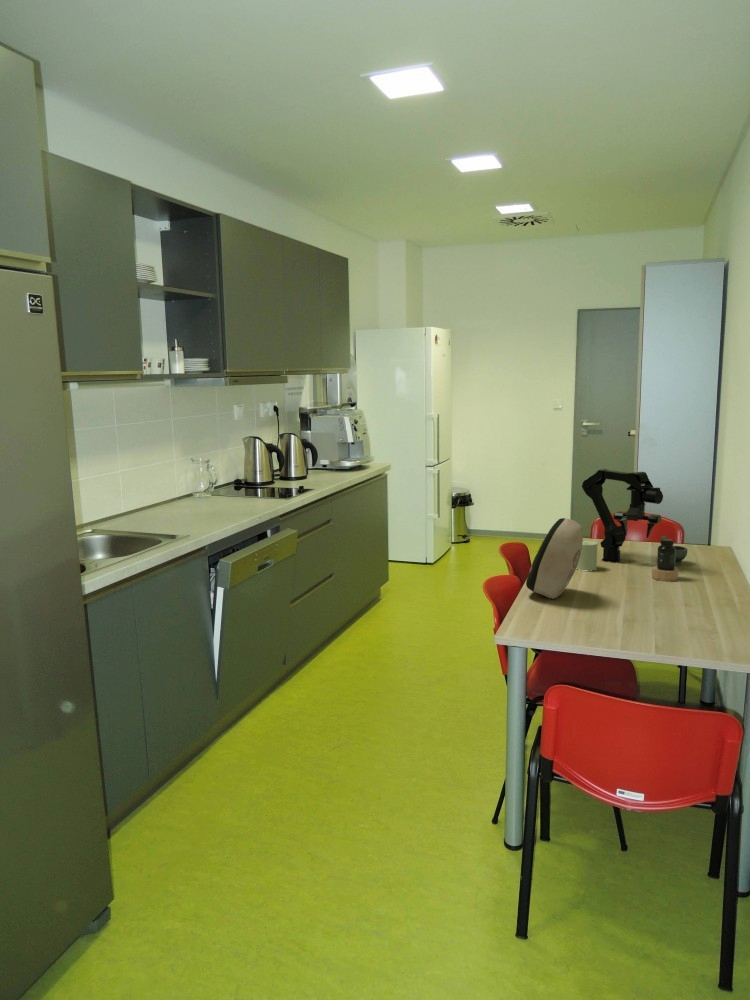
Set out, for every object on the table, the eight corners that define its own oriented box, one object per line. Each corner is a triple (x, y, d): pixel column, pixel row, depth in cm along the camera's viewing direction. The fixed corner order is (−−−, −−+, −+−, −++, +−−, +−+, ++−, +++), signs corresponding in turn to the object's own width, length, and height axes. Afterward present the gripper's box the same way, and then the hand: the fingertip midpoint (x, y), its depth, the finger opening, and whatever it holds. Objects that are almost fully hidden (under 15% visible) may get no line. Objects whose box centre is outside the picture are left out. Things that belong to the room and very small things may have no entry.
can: (573, 570, 308) (574, 543, 306) (576, 565, 317) (576, 538, 315) (595, 572, 305) (596, 544, 303) (597, 566, 313) (598, 540, 311)
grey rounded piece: (535, 584, 288) (537, 510, 283) (586, 590, 279) (588, 514, 275) (521, 599, 269) (522, 520, 264) (575, 606, 260) (577, 524, 255)
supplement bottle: (653, 567, 296) (654, 538, 294) (666, 565, 298) (667, 537, 296) (665, 571, 289) (666, 542, 287) (678, 569, 292) (680, 540, 290)
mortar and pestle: (687, 562, 319) (689, 535, 317) (685, 566, 311) (687, 539, 309) (660, 559, 324) (661, 533, 322) (657, 564, 316) (659, 537, 314)
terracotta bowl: (648, 579, 293) (649, 569, 293) (655, 573, 301) (656, 564, 300) (673, 582, 287) (674, 573, 287) (680, 577, 295) (681, 567, 294)
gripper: (609, 502, 308) (608, 537, 311) (654, 505, 297) (653, 542, 300) (618, 498, 317) (617, 533, 320) (662, 501, 306) (660, 537, 308)
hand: (636, 536), depth 312 cm, fingers open, 9 cm apart
